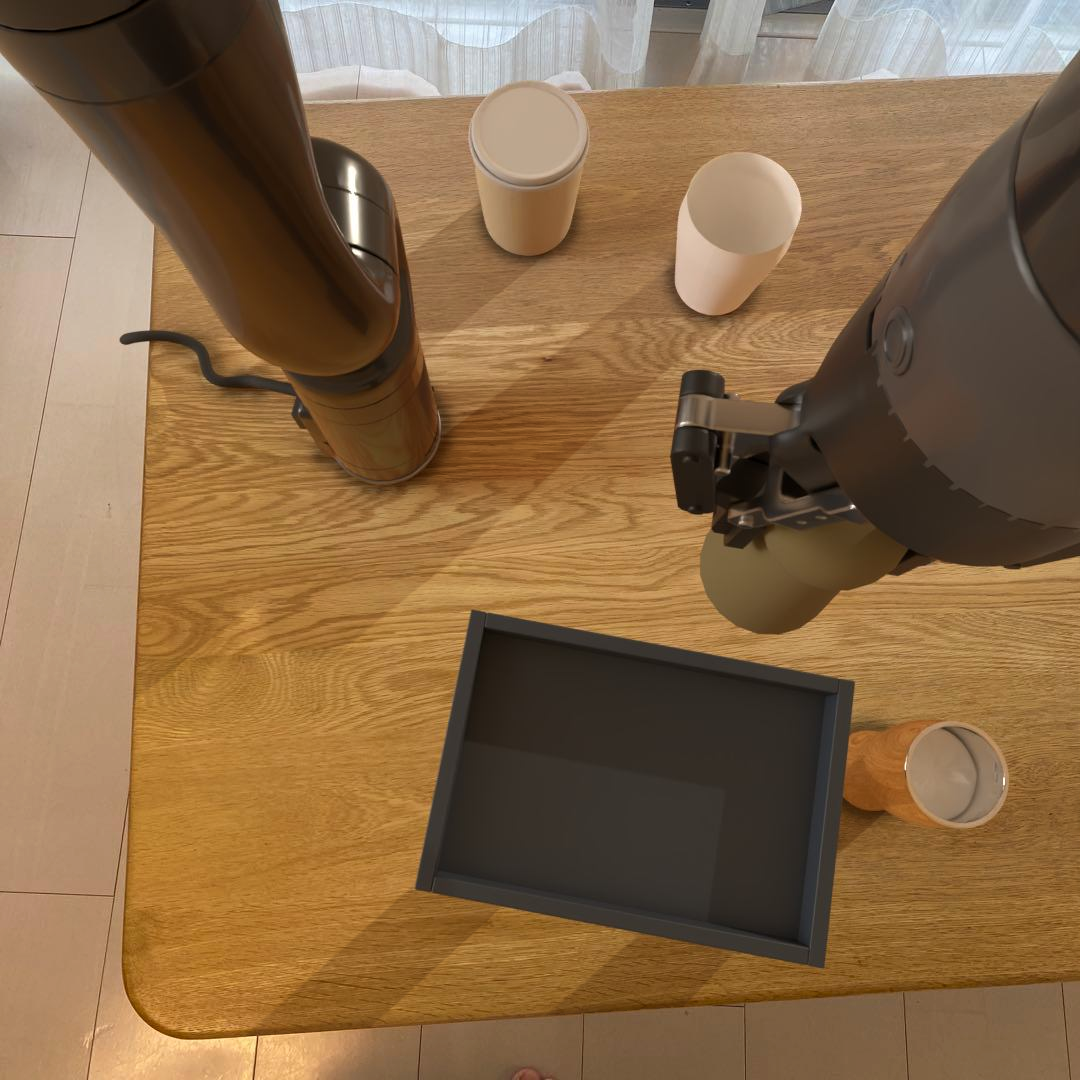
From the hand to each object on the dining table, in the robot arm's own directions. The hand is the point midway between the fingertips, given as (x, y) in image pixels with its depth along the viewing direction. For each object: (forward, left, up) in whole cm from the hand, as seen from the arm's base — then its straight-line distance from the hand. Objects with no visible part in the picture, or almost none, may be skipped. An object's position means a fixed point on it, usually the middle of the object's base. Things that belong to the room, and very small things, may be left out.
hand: (810, 534), depth 35 cm
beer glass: (+18, -6, -40) cm, 45 cm away
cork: (0, 0, -7) cm, 7 cm away
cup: (0, +33, -40) cm, 52 cm away
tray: (-3, -10, -40) cm, 42 cm away
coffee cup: (-17, +36, -40) cm, 57 cm away
